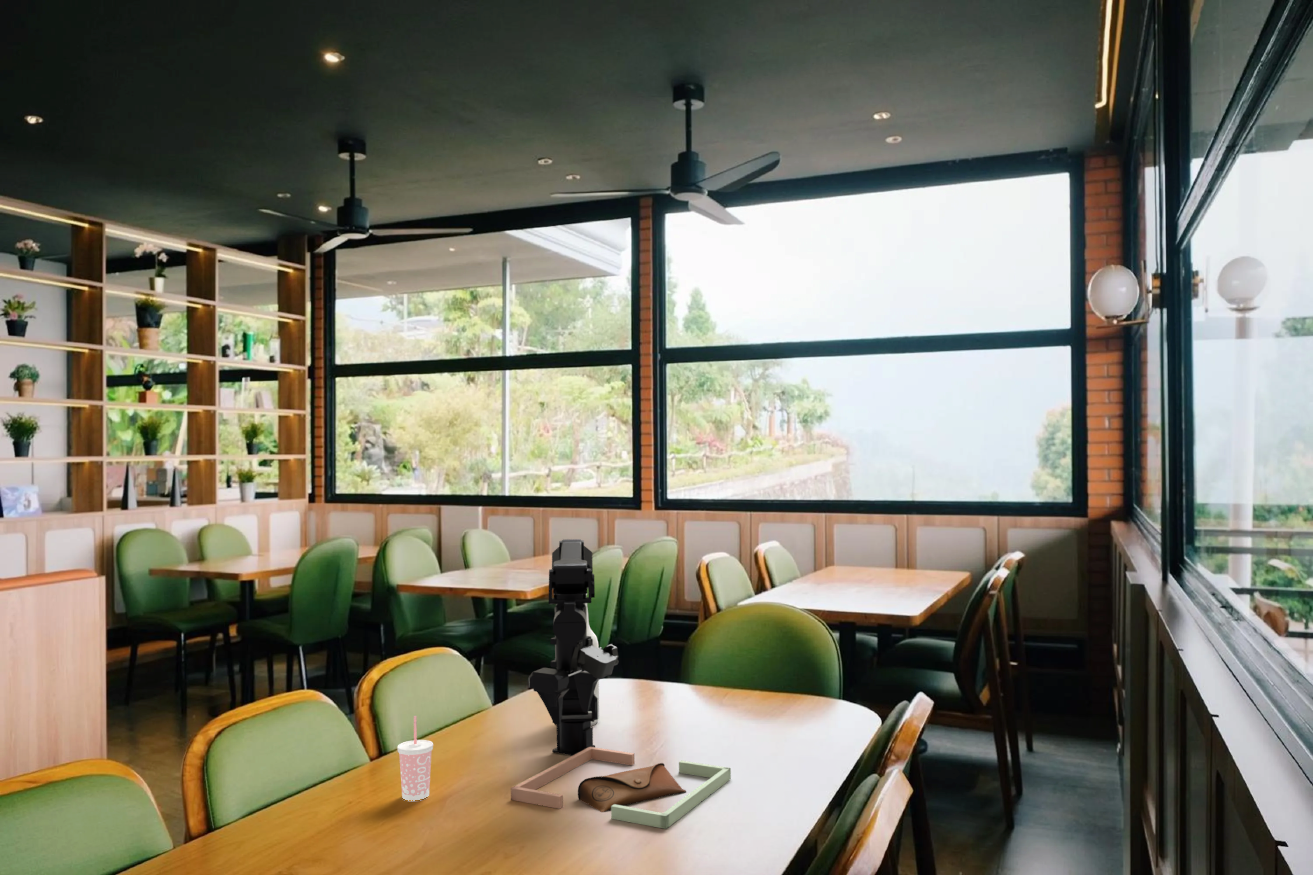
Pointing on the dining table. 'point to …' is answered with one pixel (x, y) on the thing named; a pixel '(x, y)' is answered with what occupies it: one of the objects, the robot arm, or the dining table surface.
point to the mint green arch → (674, 813)
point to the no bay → (528, 787)
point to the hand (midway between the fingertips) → (571, 717)
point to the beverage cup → (415, 767)
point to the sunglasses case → (628, 787)
